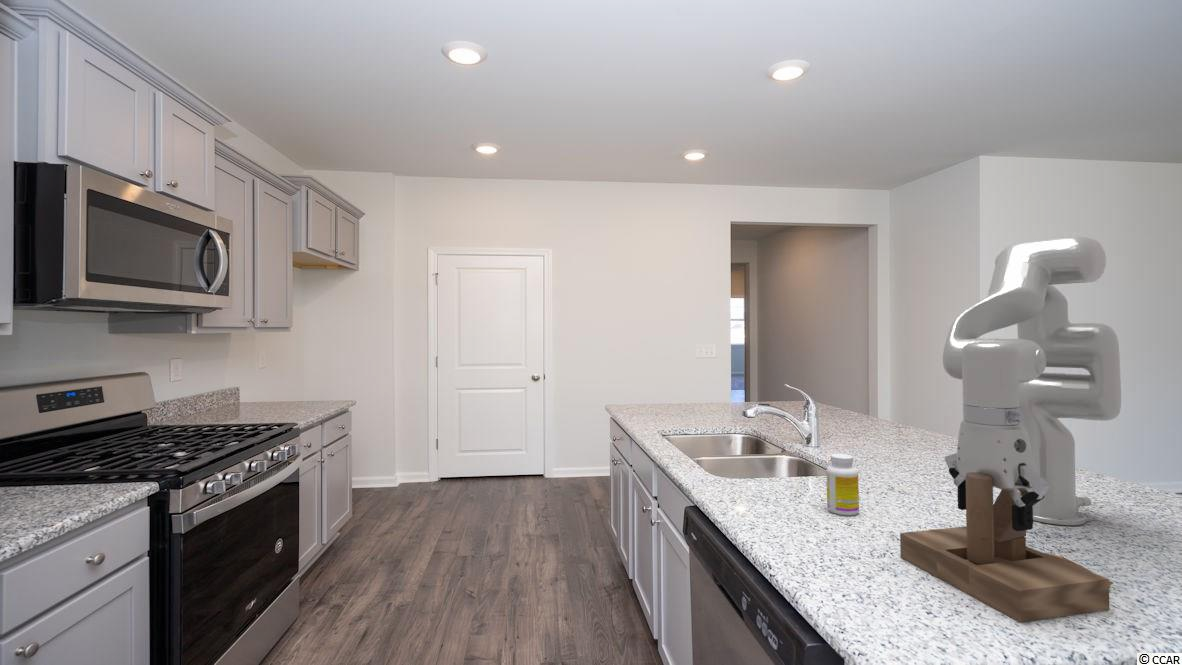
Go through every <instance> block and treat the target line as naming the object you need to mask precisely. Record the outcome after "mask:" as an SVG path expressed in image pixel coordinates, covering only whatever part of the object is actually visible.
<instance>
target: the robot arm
mask: <svg viewBox="0 0 1182 665" xmlns="http://www.w3.org/2000/svg"><path fill="white" fill-rule="evenodd" d="M1106 265H1107V256H1106V252H1105V249H1104V247H1103V246H1102V245H1101V243H1100V242H1099V241H1097V240H1095V239H1093V238H1091V237H1088V236H1087V237H1086V236H1079V235H1078V236H1065V237H1064V236H1063V237H1055V238H1047V239H1037V240H1036V239H1035V240H1030V241H1028V240H1027V241H1022V242H1017V243H1014V244H1011V245H1009V246H1006V247H1005V248H1004V249H1002V250H1001V251H1000V253H999V254H998V255H997V256H996V258H995V261H994V269H993V274H992V278H991V282H990V285H989V286H990V287H989V289H988V293H987V296H986V297H984V298H982V299H980V300H979V301H977V302H975V303H974V304H972V305H971V306H969V307H967V309H965V310H964V311H963V312H962V313H960V315H958V316H957V317H956V318H955V319H954V321H953V322H952V323H951V325H950V327H949V329H948V334H947V337H946V340H945V344H944V347H943V351H942V352H943V353H942V365H943V368H944V371H945V372H946V373H947V375H948V376H950V377H951V378H953V379H956V380H962V420H961V421H960V426H959V431H958V438H957V449H956V452H955V453H952V454H949V455H946V456H944V461H945V463H946V465H947V468H948V473H949V475H950V476H951V478H952V479H953V484H954V485H955V486H957V508H958V509H959V510H961V511H966V474H967V473H970V472H978V473H983V474H986V475H990V476H992V478H993V488H996V489H999V490H1007V491H1008V493H1009V494H1010V496H1011V497H1012V499H1013V500H1014V502H1015V503H1016V505H1012V528H1013V529H1014V530H1016V531H1024V530H1026V531H1030V530H1031V531H1032V529H1034V521H1035V522H1040V523H1045V524H1050V525H1051V524H1052V525H1058V526H1059V525H1060V526H1080V525H1084V524H1085V523H1087V517H1086V515H1085V514H1083V513H1082V512H1080V511H1079V509H1080V508H1081V507H1089V506H1091V505H1092V500H1091V499H1090V498H1089V497H1088V496H1083V497H1082V496H1081V497H1080V496H1079V497H1078V496H1076V495H1077V494H1076V492H1077V491H1076V489H1077V488H1076V445H1075V444H1076V443H1075V438H1074V436H1073V434H1072V432H1071V431H1070V430H1069V429H1068V428H1067V427H1066V425H1065V424H1063V422H1062V421H1060V419H1073V420H1074V419H1075V420H1084V421H1085V420H1086V421H1088V420H1089V421H1111V420H1114V419H1116V418H1117V417H1118V416H1119V414H1120V412H1121V408H1122V388H1121V387H1122V385H1121V383H1122V382H1121V361H1120V360H1121V358H1120V356H1121V355H1120V346H1119V345H1120V344H1119V339H1118V336H1117V334H1116V331H1115V330H1114V329H1113V328H1112V327H1110V326H1109V325H1107V324H1105V323H1104V324H1103V323H1097V322H1095V323H1094V322H1087V323H1086V322H1082V323H1081V322H1080V323H1075V322H1074V323H1071V322H1070V321H1069V310H1068V309H1069V308H1068V306H1069V304H1068V299H1067V298H1066V296H1065V295H1064V294H1063V293H1062V292H1061V291H1060V290H1059V289H1058V288H1057V287H1055V286H1054V285H1068V284H1087V283H1093V282H1096V281H1097V280H1099V279H1100V278H1101V277H1102V276H1103V274H1104V272H1105V269H1106ZM1014 325H1016V326H1017V338H980V337H981V336H983V335H985V334H988V333H991V332H994V331H998V330H1000V329H1004V328H1008V327H1011V326H1014ZM1046 368H1061V369H1062V368H1063V369H1064V368H1065V369H1067V368H1068V369H1084V370H1086V371H1087V372H1088V373H1089V374H1079V373H1076V374H1075V373H1061V372H1059V373H1057V372H1044V371H1045V369H1046ZM1020 493H1021V494H1022V495H1023V497H1022V496H1021V495H1020Z"/></svg>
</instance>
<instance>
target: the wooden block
mask: <svg viewBox="0 0 1182 665" xmlns="http://www.w3.org/2000/svg"><path fill="white" fill-rule="evenodd" d="M1020 495H1021V496H1022V497H1023V495H1022V494H1021V493H1020ZM1012 505H1016V503H1015V502H1014V500H1013V499H1012V497H1011V496H1010V494H1009V493H1008V491H1007V490H1002V489H1000V492H999V494H998V496H997V497H996V500H995V501H994V487H993V478H992V476H990V475H986V474H983V473H978V472H970V473H967V474H966V510H965V511H966V512H965V513H966V514H965V516H966V518H965V521H966V528H967V561H969V562H971V563H973V564H975V565H984V564H992V563H1001V562H1009V561H1018V560H1026V546H1027V540H1026V539H1027V538H1026V536H1027V530H1024V531H1016V530H1014V529H1013V528H1012Z"/></svg>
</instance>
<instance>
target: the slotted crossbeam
mask: <svg viewBox="0 0 1182 665" xmlns="http://www.w3.org/2000/svg"><path fill="white" fill-rule="evenodd" d="M899 540H900V541H899V542H900V543H899V544H900V545H899V547H900V550H899V551H900V559H902V560H904V561H906V562H908V563H910V564H911V565H913V566H915V567H917V568H919V569H921V570H922V571H924V572H927V573H928V574H929V575H932V576H933V577H936V578H937V579H939V580H941V581H943V582H945V583H947V584H949V585H951V586H952V587H953V588H956V589H958V590H960V591H961V592H963V593H964V594H967V595H969V596H970V597H973V598H974V599H975V600H978V601H980V602H981V603H984V604H985V605H987V606H989V607H991V608H993V609H995V610H997V611H998V612H1000V613H1002V614H1003V615H1005V616H1007V617H1009V618H1011V619H1013V620H1015V621H1017V622H1018V623H1026V622H1032V621H1039V620H1040V621H1041V620H1048V619H1053V618H1054V619H1055V618H1059V617H1060V618H1061V617H1068V616H1073V615H1074V616H1075V615H1080V614H1086V613H1087V614H1089V613H1094V612H1102V611H1108V610H1110V608H1111V607H1110V588H1109V582H1110V578H1107V577H1105V576H1102V575H1099V574H1097V573H1095V572H1093V571H1091V570H1090V571H1091V572H1090V571H1087V570H1085V569H1082V568H1080V567H1077V566H1075V565H1072V564H1070V563H1067V562H1065V561H1062V560H1060V559H1057V558H1055V557H1052V556H1049V555H1047V554H1044V553H1045V552H1042V551H1039V550H1037V549H1033V548H1032V547H1029V546H1027V545H1026V560H1018V561H1009V562H1001V563H992V564H984V565H975V564H973V563H971V562H969V561H967V528H966V526H957V527H946V528H938V529H937V528H936V529H928V530H925V529H924V530H919V531H918V530H917V531H908V532H900V533H899Z"/></svg>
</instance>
